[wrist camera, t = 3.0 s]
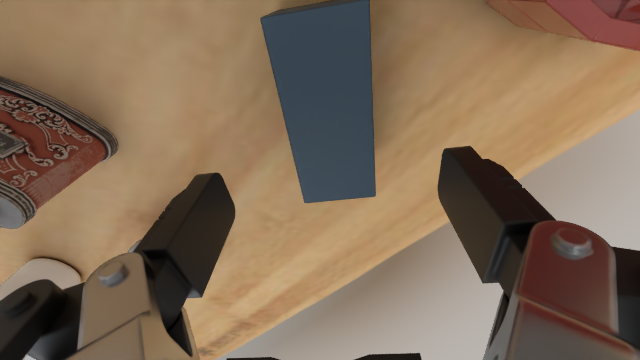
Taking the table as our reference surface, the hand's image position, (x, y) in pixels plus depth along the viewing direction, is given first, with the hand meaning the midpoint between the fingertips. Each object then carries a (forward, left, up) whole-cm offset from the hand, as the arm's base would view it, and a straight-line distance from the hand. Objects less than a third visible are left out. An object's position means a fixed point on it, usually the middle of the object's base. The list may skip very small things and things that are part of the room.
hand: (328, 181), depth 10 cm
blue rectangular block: (0, 0, -9) cm, 9 cm away
